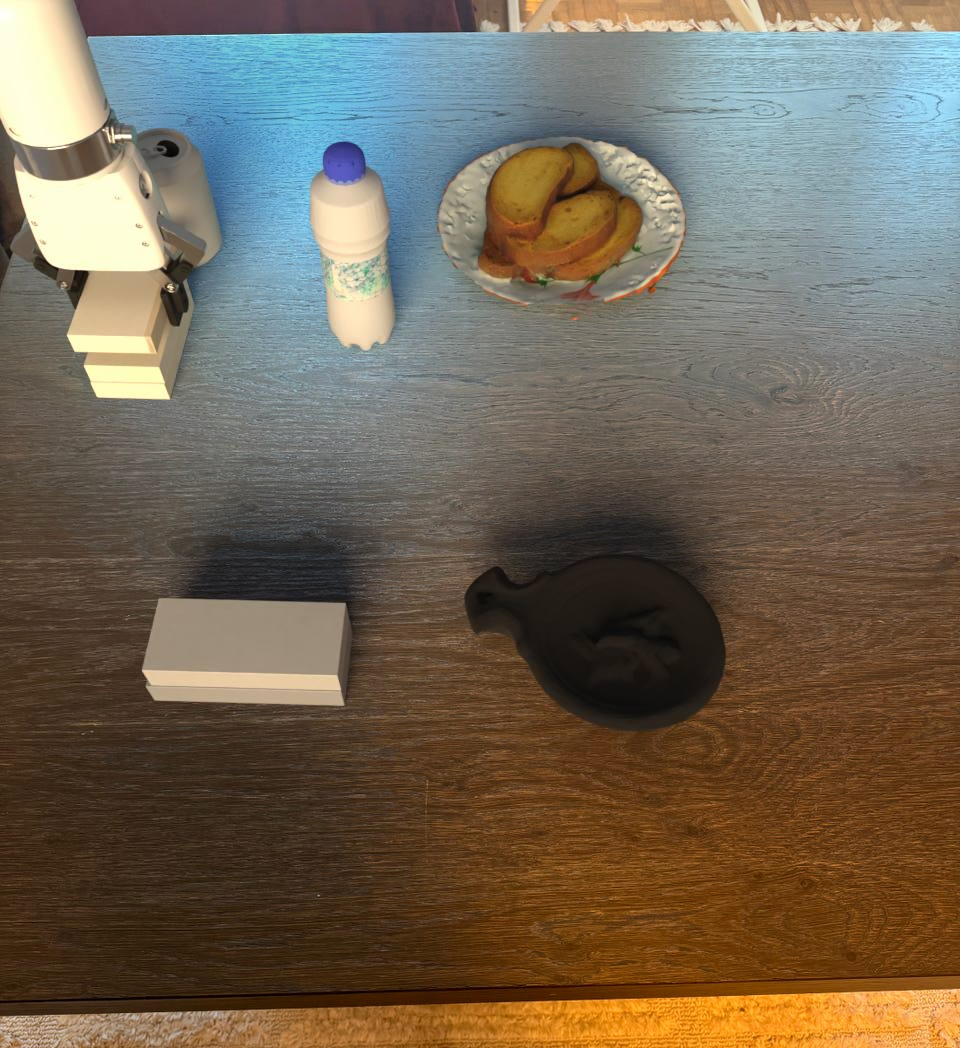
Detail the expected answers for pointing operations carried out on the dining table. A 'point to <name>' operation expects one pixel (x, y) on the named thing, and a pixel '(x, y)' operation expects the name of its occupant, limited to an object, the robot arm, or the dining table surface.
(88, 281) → the cream flat block
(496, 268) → the food on plate
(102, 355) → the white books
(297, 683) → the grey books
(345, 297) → the bottle
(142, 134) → the can
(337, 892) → the dining table surface
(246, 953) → the dining table surface
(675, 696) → the oil lamp
